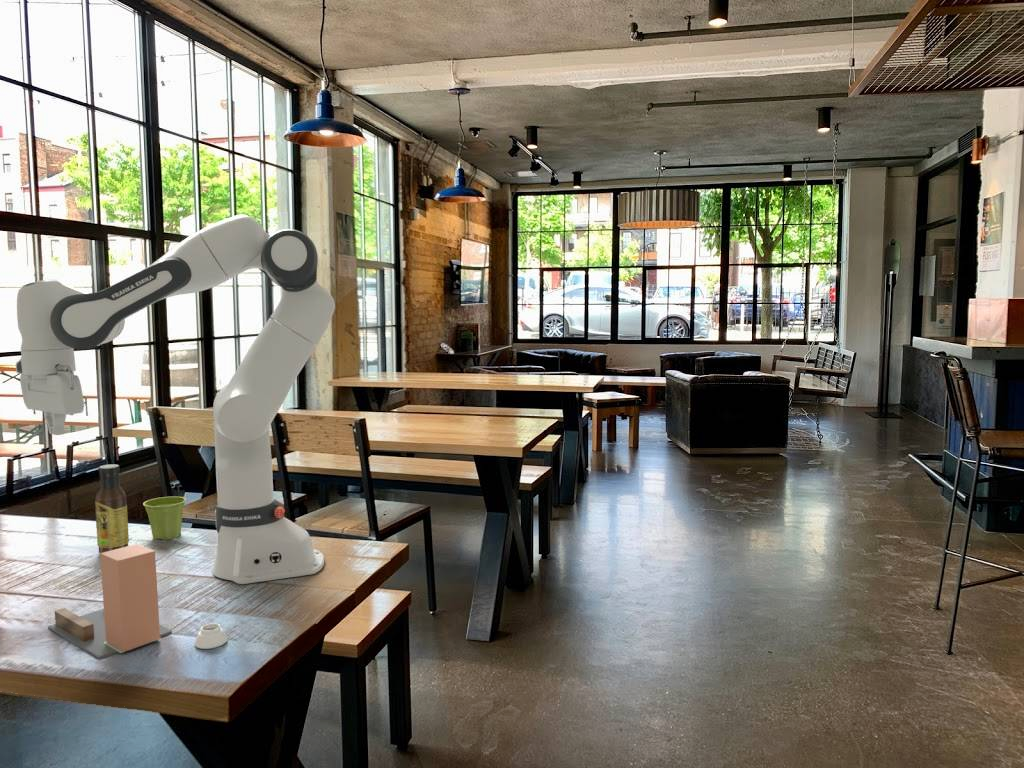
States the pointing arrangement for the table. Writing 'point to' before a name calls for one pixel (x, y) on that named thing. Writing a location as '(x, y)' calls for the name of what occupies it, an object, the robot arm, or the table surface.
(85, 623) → the chute rails
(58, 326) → the robot arm
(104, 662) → the table surface
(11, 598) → the table surface
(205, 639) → the white jar
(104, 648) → the chute mat
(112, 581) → the block
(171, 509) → the plant pot
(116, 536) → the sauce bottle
